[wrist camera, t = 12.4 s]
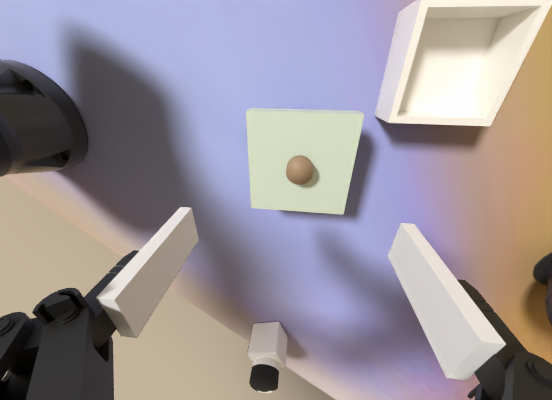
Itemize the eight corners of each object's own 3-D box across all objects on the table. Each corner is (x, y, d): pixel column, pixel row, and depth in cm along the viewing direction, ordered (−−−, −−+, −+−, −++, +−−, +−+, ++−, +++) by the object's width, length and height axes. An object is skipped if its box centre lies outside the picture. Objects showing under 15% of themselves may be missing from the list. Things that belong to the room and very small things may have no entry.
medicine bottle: (252, 323, 53) (240, 381, 43) (279, 320, 52) (273, 381, 41) (262, 338, 57) (253, 396, 46) (288, 336, 55) (284, 396, 44)
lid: (254, 198, 30) (248, 213, 27) (251, 107, 24) (242, 112, 21) (340, 204, 29) (345, 221, 26) (358, 111, 23) (368, 116, 20)
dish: (374, 115, 27) (388, 122, 22) (398, 12, 22) (422, -5, 17) (459, 118, 26) (490, 126, 22) (504, 10, 21) (557, -7, 17)
